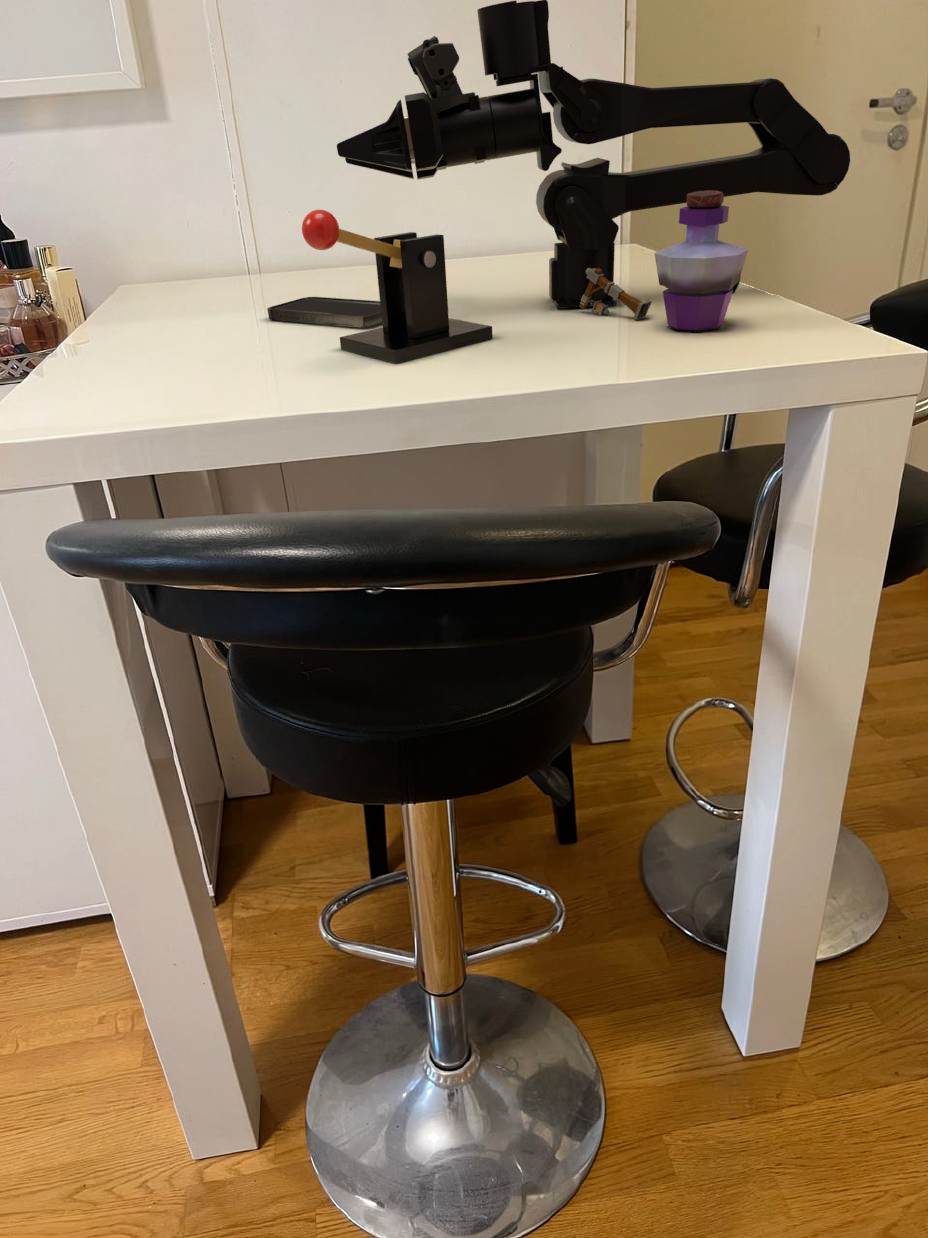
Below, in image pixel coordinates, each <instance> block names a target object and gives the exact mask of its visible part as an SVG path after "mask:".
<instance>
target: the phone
mask: <svg viewBox="0 0 928 1238" xmlns="http://www.w3.org/2000/svg"><path fill="white" fill-rule="evenodd" d="M266 310H267V315H268V319H269V320H271V321H285V322H293V323H294V322H295V323H304V324H305V323H306V324H317V325H318V324H319V325H327V326H339V327H351V328H371V327H375V326H377V325H380V324H381V325H382V316H381V306H380V300H367V299H353V298H337V297H325V296H323V297H322V296H306V297H301V298H298V299H293V300H290V301H287V302H283V303H280V304H279V303H278V304H276V305H272V306H269V307H267V308H266Z"/></svg>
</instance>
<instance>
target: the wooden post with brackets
mask: <svg viewBox="0 0 928 1238" xmlns="http://www.w3.org/2000/svg"><path fill="white" fill-rule="evenodd" d="M601 272H602V270H601V269H600V268H598V269H596V268H594V269H591V268H588V269H586V274H587V278H589V279H590V282H589V284H588V287H587V289H586V292H585V294H583V296H582V299H581V303H580V305H579V307H578V308H581V309H582V310H583V309H586V308H587V307H586V306H587V305H588V302H590V304H591V305H590V306H589V307H592V310H591V311H592V312H594V311H595V312H597V313H598V314H599V316H602V315H605V316H606V315H608V314H609V313H610V310H609V309H608V308H609V305H604V304H603V303H601V301H602V300H599V301H596V302H595V300H590V299H591V297H592V296H591V295H592V294H593V292H595V291H597V290H599V289H601V288H603V289H604V290H605V291H604V292H606V293H609V294H608V295H610V296H612V297H613V298H615V300H616V301H619V302H620V303H622V304H623V305H624V306H625V307H626V308H628V309H629V310H630V311H631V312H632V313H633V314H634V315H633V319H634V320H635V321H638V320H640V319H644V318H646V316H647V313H648V311H649V309H650V307H651V304H652V302H653V301H651V300H649V299H648V300H644V301H642V300H640V299H638V298H636V297H634V296H632V295H630V294H628V293H627V292H625V289H623V288H621V287H620V286H619V285H618V284H616V283H615V282H610V281H609V280H607V279H606V278H605V277H603V276H604V275H603V274H602V273H601ZM596 284H598V285H600V287H598V288H596V289H594V287H595V285H596ZM592 305H593V306H592Z"/></svg>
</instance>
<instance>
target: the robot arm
mask: <svg viewBox="0 0 928 1238" xmlns="http://www.w3.org/2000/svg"><path fill="white" fill-rule="evenodd" d="M477 18H478V19H477V21H478V27H479V36H480V45H481V53H482V60H483V61H482V62H483V70H484V76H492V75H493V81H495V85H496V86H495V87H503V86H508V85H509V86H510V85H513V84H519V83H525V82H529V88H526V89H521V90H516V91H509V92H504V93H498V94H493V95H487V96H482V97H479V96H480V95H479V94H476V92H474V91H472V92H466V93H463V91H462V89H461V87H460V84H459V82H458V81H457V80H458V78H457V76H456V75H455V73H454V71H455V69H456V67H457V65H458V64H459V62H460V56H459V53H458V51H457V49H456V47H455V45H454V42H440V40H439V38H438V36H435V35H434V36H432V37H430V38H429V39H428V38H427V39H424V40H423V41H422V43H421V44H420V45H418V46H416V47H415V48H414V49H412V50H411V51H409V52H407V57H408V58H407V61H408V63H409V66H410V68H411V70H412V72H413V74H414V75H415V76H417V78H418V80H419V81H420V84H421V86H422V88H423V90H424V91H423V92H417V93H412V94H406V95H404V100H405V107H406V113H407V115H406V116H404V110H403V103H402V99H399V100H398V101H397V102H396V105H395V107H394V108H393V110H392V112H391V114H390V115H389V117H388V118H387V120H386V121H385V122H382V123H380V124H378V125H376V126H374V127H372V128H369V129H367V130H364V131H362V132H361V133H358V134H356V135H354V136H352V137H349V138H347V139H345V140H343V141H340V142H338V143H337V144H336V150H337V155H338V156H339V157H340V158H344V159H345V160H344V161H345V163H346V164H348V165H353V166H357V167H360V168H365V169H368V170H369V169H370V170H374V171H377V172H381V173H387V174H391V175H394V176H397V177H398V176H399V177H403V178H407V179H410V180H414V179H415V178H414V177H415V176H414V171H413V165H414V166H415V173H416V178H417V181H418V180H419V181H420V180H424V179H425V180H426V179H430V178H434V177H435V175H436V174H437V172H438V171H442V170H446V169H447V168H451V167H457V166H462V165H468V164H474V165H477V164H482V163H485V162H486V161H491V160H497V159H502V158H510V157H515V156H521V155H525V154H532V153H536V162H537V168H538V169H539V170H541V171H544V172H547V171H549V170H550V167H551V165H552V163H553V162H554V160H555V159H556V158H557V157H558V156H559V155H560V154H561V153H562V151H563V149H562V148H561V147H559V146H558V145H557V144H556V143H554V139H553V138H554V137H553V126H552V117H553V124H554V126H555V128H556V130H557V132H558V133H559V135H560V136H562V138H563V139H565V140H566V141H568V142H570V143H576V144H581V145H582V144H583V145H593V144H598V143H600V142H601V143H602V142H606V141H610V140H613V139H617V138H621V137H625V136H628V135H630V134H633V133H637V132H640V131H644V130H648V129H659V128H674V127H692V126H708V125H711V126H712V125H725V124H728V125H729V124H743V123H745V124H746V123H747V125H748V126H749V127H750V129H751V130H752V131H753V133H754V135H755V137H756V138H757V140H758V142H759V144H760V146H761V147H759V148H756V149H755V150H752V151H750V152H747V153H742V154H736V155H729V156H722V157H716V158H709V159H703V160H697V161H696V160H695V161H689V162H683V163H678V164H670V165H663V166H658V167H650V168H645V169H638V170H633V171H632V170H631V171H626V172H625V171H624V172H613V171H610V165H611V164H610V163H611V161H610V160H608V159H606V158H605V159H604V158H601V157H595V158H592V159H589V160H586V161H583V162H580V163H573V164H572V163H571V164H570V163H567V162H561V163H560V166H561V168H562V169H558V170H555V171H552V172H550V173H549V174H547V175H546V176H545V177H544V179H542V181H541V183H540V184H539V185H538V188H537V191H536V197H535V198H536V199H535V204H536V207H537V212H538V214H539V215H540V217H541V219H542V220H543V221H544V222H545V223H546V224H548V225H549V226H551V227H552V228H553V230H554V231H553V232H554V233H555V236H556V239H557V241H560V242H555V243H553V256H554V257H549V259H548V289H549V292H548V293H549V294H548V295H549V298H550V300H551V301H553V302H554V304H555V306H556V308H558V309H569V308H580V307H579V305H580V303H581V299H582V296H583V294H585V292H586V289H587V287H588V284H589V282H590V279H589V278H587V274H586V269H588V268H591V269H594V268H596V269H598V268H600V269H601V270H602V272H601V273H602V274H603V275H604V276H603V277H605V278H606V279H607V280H609V281H610V282H614V279H615V251H616V250H615V249H616V248H615V246H616V245H615V244H616V243H615V242H616V239H617V235H618V232H619V230H620V228H619V225H618V224H617V222H616V221H615V220H614V219H617V218H618V217H621V216H623V215H625V214H628V213H630V212H637V211H643V210H649V209H655V208H662V207H668V206H675V205H681V204H687V194H689V193H693V192H697V191H708V190H713V191H719V192H723V195H724V198H727V197H732V196H739V195H740V196H741V195H745V194H753V193H766V194H779V195H794V196H818V197H819V196H824V195H828V194H830V193H832V192H834V191H836V190H837V189H838V187H839V186H840V185H841V183H842V182H844V180H845V178H846V176H847V174H848V172H849V169H850V163H851V151H850V149H849V146H848V144H847V142H846V141H845V140H844V139H843V138H842V136H840V135H838V134H835V133H828V132H827V130H826V129H825V128H824V126H823V125H822V123H820V122H819V120H818V119H816V118H815V116H814V115H812V114H811V113H810V112H809V110H807V109H806V108H805V107H804V106H802V105H801V104H800V103H799V102H798V101H797V100H796V99H795V97H794V96H793V94H792V93H791V92H790V91H789V89H788V88H787V87H786V85H785V83H784V82H782V81H781V80H779V79H778V78H772V77H771V78H758V79H755V80H754V79H753V80H752V81H749V82H736V83H735V82H734V83H733V82H732V83H719V84H718V83H717V84H700V85H698V84H697V85H683V86H681V85H680V86H666V87H665V86H664V87H646V86H641V85H636V84H630V83H626V82H619V81H612V80H606V79H599V78H584V79H579V78H577V77H576V76H575V75H573V74H571V73H570V72H568V71H567V70H565V69H564V66H559V65H558V64H556V63H555V62H552V59H551V47H550V35H549V20H550V19H549V18H550V9H549V1H548V0H528V1H521V2H518V1H517V0H510V1H505V2H499V3H495V4H491V5H486V6H484V7H480V8H477ZM540 94H541V95H542V96H543V97H544V98H545V99H546V101H547V102H548V104H549V105H550V106H551V108H552V113H551V111H544V112H543V108H542V107H543V106H542V101H541V95H540ZM614 283H615V282H614ZM598 287H600V285H598V284H596V285H595V287H594V289H596V288H598ZM604 291H605V290H604V289H603V288H601V289H599V290H597V291H595V292H593V294H592V295H591V296H592V297H591V299H590V300H595V302H596V301H599V300H602V301H601V303H603V304H604V305H608V306H615V305H617V300H615V298H613V297H612V296H610V295H608V294H609V293H606V292H604ZM590 305H591V304H590V302H588V305H587V306H586V308H587V307H588V308H589V307H593V305H592V306H590Z"/></svg>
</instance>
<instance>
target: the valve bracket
mask: <svg viewBox="0 0 928 1238" xmlns="http://www.w3.org/2000/svg"><path fill="white" fill-rule="evenodd" d="M417 233H418V232H416V231H415V232H413V231H408V232H402V233H397V234H389V235H382V236H377V237H374V238H373V239H374V240H378V241H381V242H384V243H387V244H391V245H393V243H394V240H400V249H401V261H402V270H401V269H397V268H394V267H390V260H391V258H390V257H386V256H383V255H380V254H376V253H374V255H375V265H376V274H377V275H376V276H377V286H378V295H379V296H378V297H379V301H380V306H381V316H382V323H381V325H382V326H381V327H379V328H375V329H369V330H366V331H361V332H358V333H356V332H355V333H352V334H347V335H344V336H340V337H339V346H340V350H341V351H346V352H350V353H354V354H357V355H361V356H365V357H369V358H373V359H377V360H382V361H385V362H388V363H392V364H400V363H403V362H404V363H405V362H407V361H408V362H409V361H411V360H414V359H415V360H416V359H419V358H423V357H426V356H430V355H434V354H438V353H442V352H446V351H449V350H453V349H458V348H461V347H465V346H469V345H473V344H477V343H481V342H484V341H489V340H492V339H493V338H494V337H493V336H494V335H493V326H492V325H488V324H484V323H483V324H482V323H476V322H472V321H466V320H462V319H461V320H460V319H455V318H451V317H449V303H448V302H449V301H448V286H447V285H448V284H447V270H446V269H447V267H446V253H445V238H444V235H443V234H430V235H425V236H419V237H418V234H417Z"/></svg>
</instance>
